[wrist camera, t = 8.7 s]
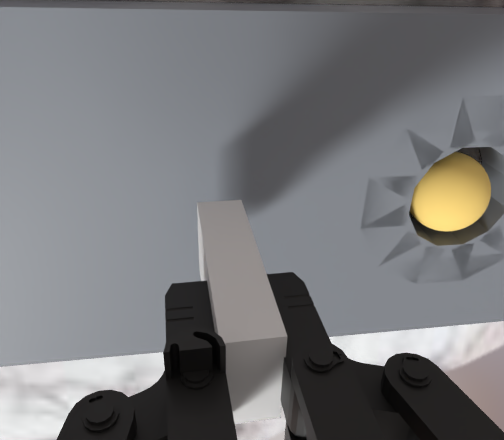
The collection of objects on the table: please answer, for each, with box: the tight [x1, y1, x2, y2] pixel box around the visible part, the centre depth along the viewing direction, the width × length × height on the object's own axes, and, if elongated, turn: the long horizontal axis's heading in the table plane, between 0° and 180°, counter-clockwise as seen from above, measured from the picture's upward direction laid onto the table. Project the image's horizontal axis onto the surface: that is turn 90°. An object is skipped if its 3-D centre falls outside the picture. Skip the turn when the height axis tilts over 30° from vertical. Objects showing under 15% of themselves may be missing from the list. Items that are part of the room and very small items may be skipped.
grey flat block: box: [0, 0, 504, 367], centre depth 19 cm, size 28×14×2 cm, turn 88°
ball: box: [410, 152, 491, 231], centre depth 20 cm, size 3×3×3 cm
